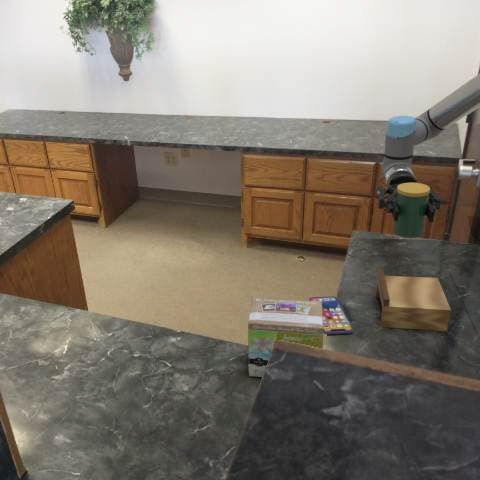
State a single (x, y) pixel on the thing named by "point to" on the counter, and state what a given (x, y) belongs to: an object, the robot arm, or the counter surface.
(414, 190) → the tea tin
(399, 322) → the wooden block
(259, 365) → the tea box
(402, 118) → the robot arm
